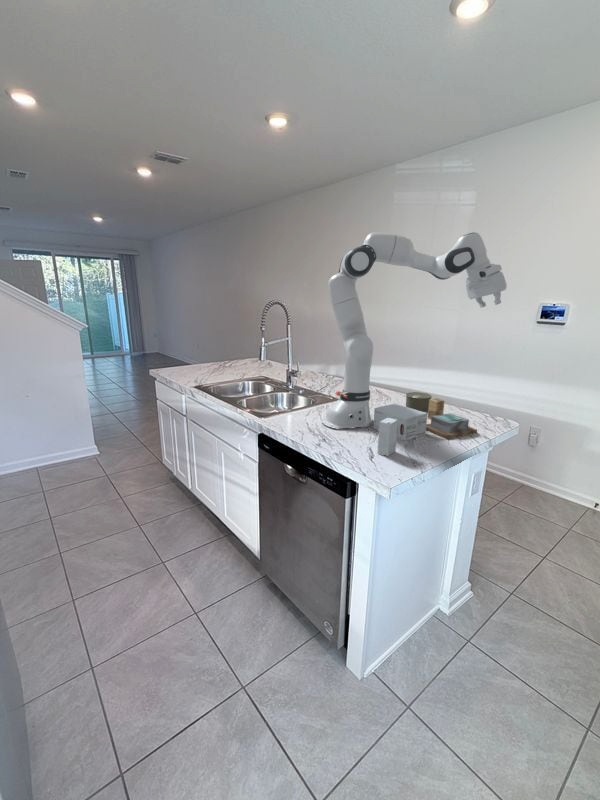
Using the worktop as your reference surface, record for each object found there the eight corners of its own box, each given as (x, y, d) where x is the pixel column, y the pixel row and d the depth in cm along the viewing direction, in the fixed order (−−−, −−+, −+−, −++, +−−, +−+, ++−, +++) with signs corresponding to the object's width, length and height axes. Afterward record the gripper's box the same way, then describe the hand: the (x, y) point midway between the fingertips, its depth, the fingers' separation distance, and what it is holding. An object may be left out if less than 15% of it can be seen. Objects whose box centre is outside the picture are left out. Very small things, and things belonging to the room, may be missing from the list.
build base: (446, 439, 142) (448, 425, 140) (421, 428, 154) (422, 415, 153) (476, 433, 148) (478, 419, 146) (450, 423, 160) (451, 410, 159)
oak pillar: (434, 421, 163) (436, 401, 160) (427, 418, 167) (429, 399, 164) (442, 420, 165) (444, 400, 162) (435, 417, 169) (437, 398, 166)
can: (434, 408, 183) (435, 394, 181) (424, 413, 174) (425, 399, 173) (411, 403, 191) (412, 391, 189) (400, 408, 182) (401, 395, 180)
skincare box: (384, 448, 133) (386, 416, 130) (396, 451, 130) (398, 419, 127) (376, 453, 129) (378, 421, 126) (388, 457, 126) (390, 423, 123)
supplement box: (372, 429, 154) (373, 407, 151) (394, 423, 161) (395, 402, 159) (404, 441, 140) (405, 418, 138) (426, 434, 148) (428, 412, 145)
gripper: (458, 281, 158) (469, 311, 161) (489, 270, 138) (500, 305, 140) (471, 275, 159) (481, 305, 161) (503, 264, 139) (514, 298, 141)
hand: (490, 305), depth 151 cm, fingers open, 8 cm apart
